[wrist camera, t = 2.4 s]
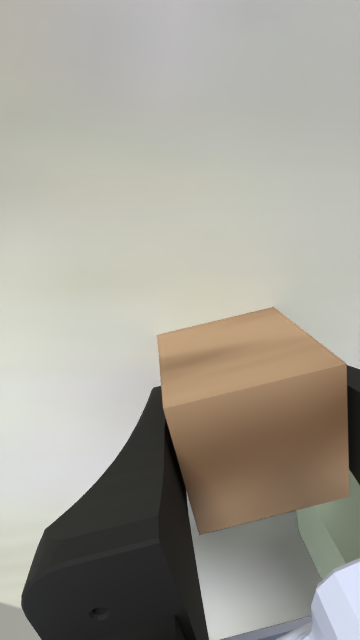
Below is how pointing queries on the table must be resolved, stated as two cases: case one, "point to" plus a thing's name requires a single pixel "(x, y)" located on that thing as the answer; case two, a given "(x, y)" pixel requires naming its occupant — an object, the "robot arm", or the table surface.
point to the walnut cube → (254, 418)
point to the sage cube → (332, 530)
